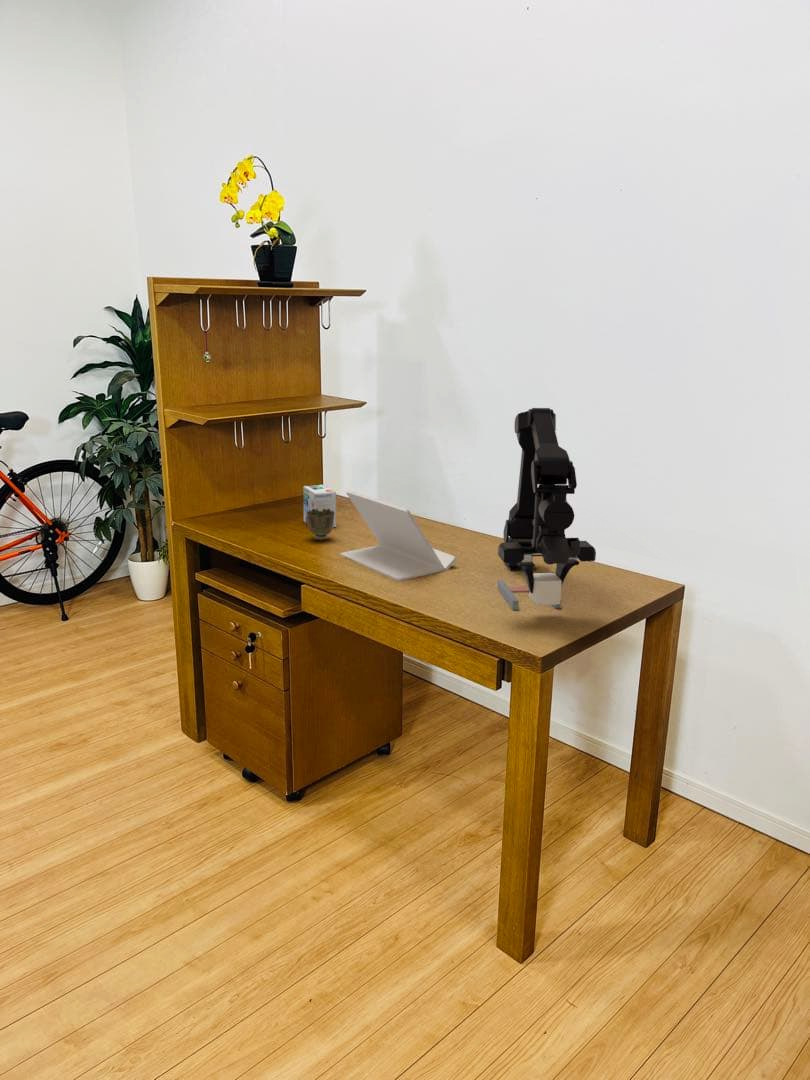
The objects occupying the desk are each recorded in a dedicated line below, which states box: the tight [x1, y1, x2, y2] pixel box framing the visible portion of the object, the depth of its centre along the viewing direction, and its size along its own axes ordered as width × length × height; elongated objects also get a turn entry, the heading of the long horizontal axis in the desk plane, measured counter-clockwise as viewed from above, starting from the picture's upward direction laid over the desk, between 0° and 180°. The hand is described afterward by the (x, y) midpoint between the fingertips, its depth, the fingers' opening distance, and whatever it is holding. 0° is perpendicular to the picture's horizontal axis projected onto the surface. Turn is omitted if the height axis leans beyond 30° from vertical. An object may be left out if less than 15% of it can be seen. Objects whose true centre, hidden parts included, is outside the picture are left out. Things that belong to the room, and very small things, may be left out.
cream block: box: [528, 572, 562, 606], centre depth 166 cm, size 5×5×5 cm
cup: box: [307, 509, 335, 542], centre depth 221 cm, size 8×7×8 cm
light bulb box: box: [302, 484, 337, 528], centre depth 236 cm, size 11×7×11 cm, turn 25°
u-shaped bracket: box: [497, 579, 562, 611], centre depth 179 cm, size 14×10×2 cm
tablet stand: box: [340, 489, 457, 582], centre depth 202 cm, size 18×25×17 cm
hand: (544, 592), depth 167 cm, fingers closed on cream block, 5 cm apart
